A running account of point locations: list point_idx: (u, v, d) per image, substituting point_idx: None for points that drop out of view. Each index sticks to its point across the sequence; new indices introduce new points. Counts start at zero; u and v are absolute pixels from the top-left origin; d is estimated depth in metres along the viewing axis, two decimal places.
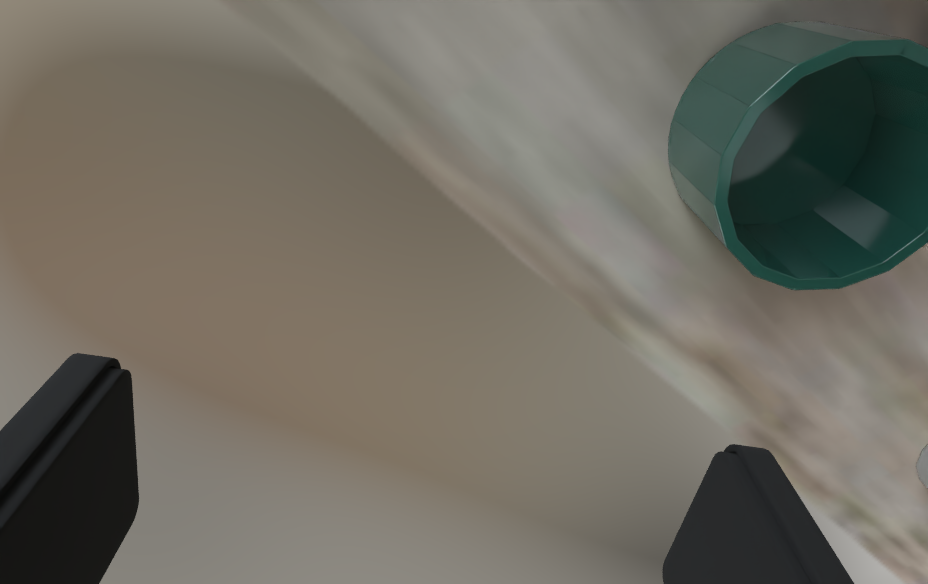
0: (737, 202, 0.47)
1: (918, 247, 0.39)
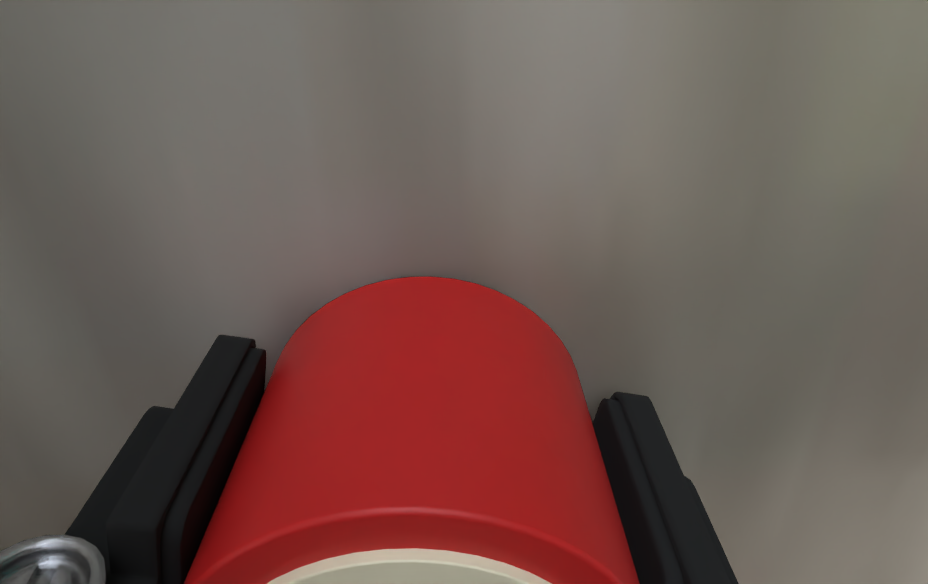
0: None
1: None
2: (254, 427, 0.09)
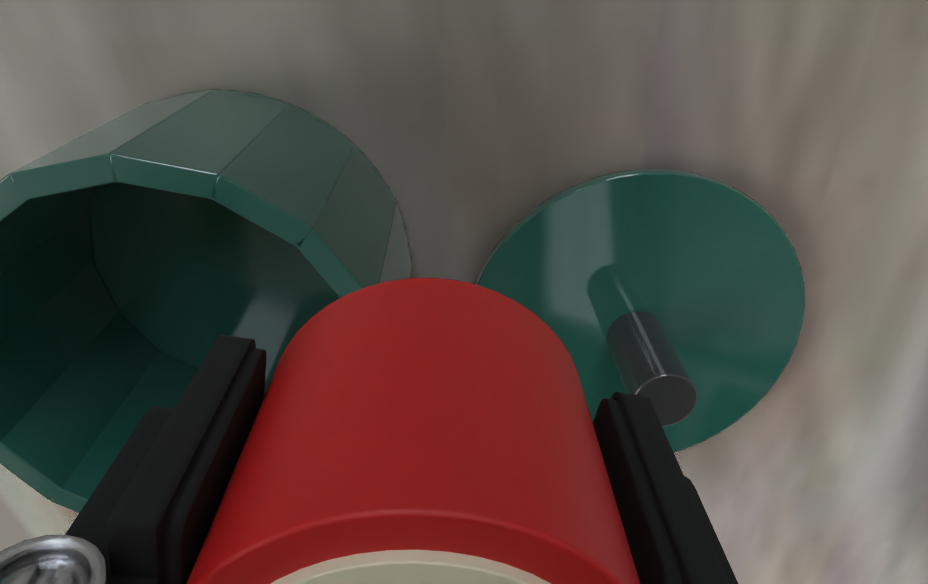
0: (162, 318, 0.30)
1: None
2: (256, 428, 0.09)
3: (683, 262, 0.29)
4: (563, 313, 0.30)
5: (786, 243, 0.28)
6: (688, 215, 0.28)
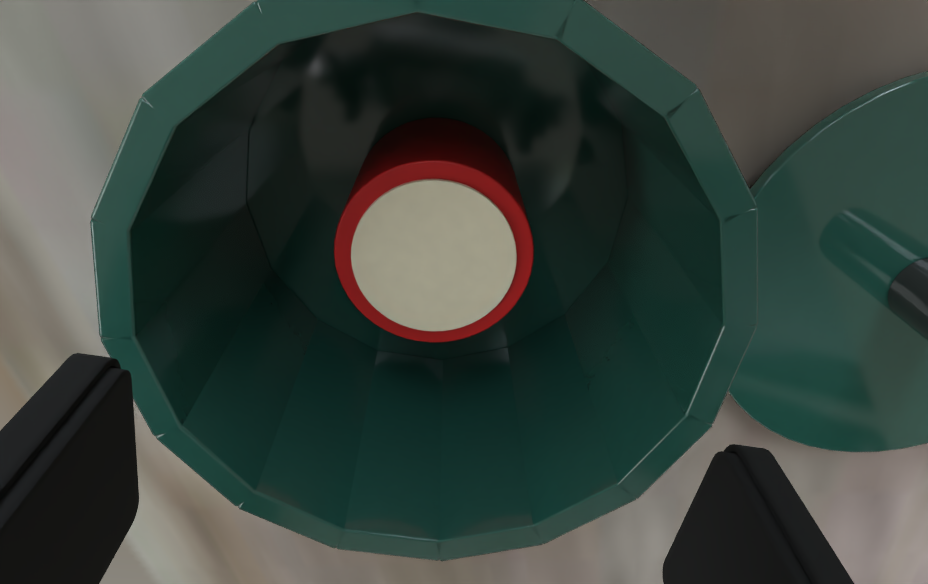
0: (325, 277, 0.24)
1: (513, 547, 0.18)
2: (361, 172, 0.20)
3: None
4: (839, 260, 0.23)
5: None
6: None
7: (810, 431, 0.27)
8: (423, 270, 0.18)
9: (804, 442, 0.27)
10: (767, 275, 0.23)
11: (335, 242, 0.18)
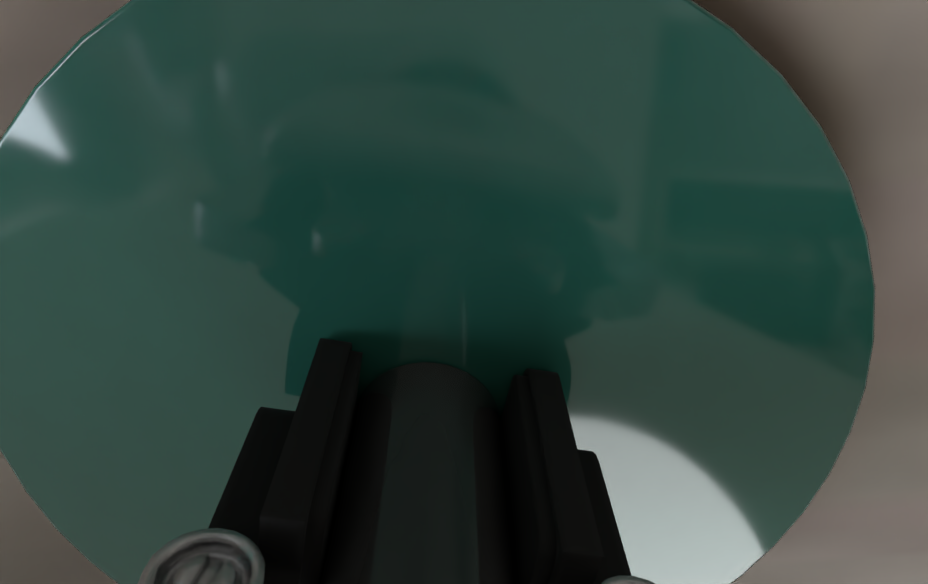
0: None
1: None
2: None
3: (199, 343, 0.11)
4: None
5: (67, 72, 0.09)
6: (67, 354, 0.11)
7: (764, 516, 0.13)
8: None
9: (791, 520, 0.13)
10: None
11: None
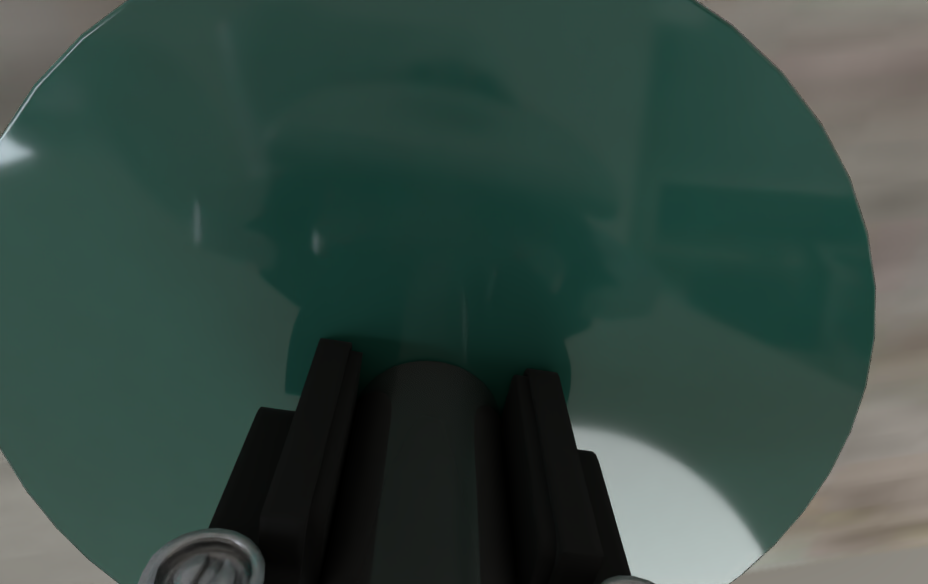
0: None
1: None
2: None
3: (199, 341, 0.11)
4: None
5: (67, 70, 0.09)
6: (66, 351, 0.11)
7: (764, 515, 0.13)
8: None
9: (792, 519, 0.13)
10: None
11: None
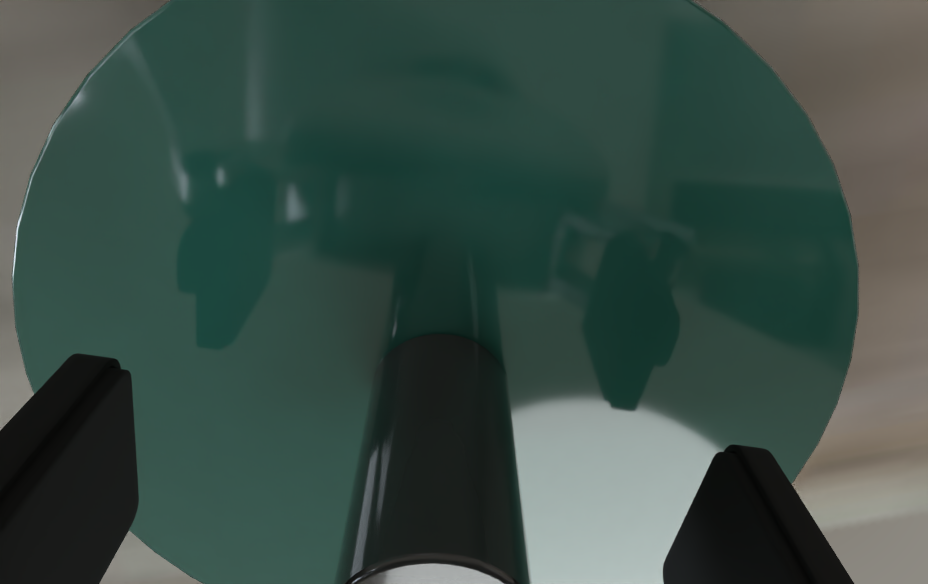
0: None
1: None
2: None
3: (230, 314, 0.12)
4: None
5: (116, 62, 0.10)
6: (107, 324, 0.12)
7: None
8: None
9: None
10: None
11: None
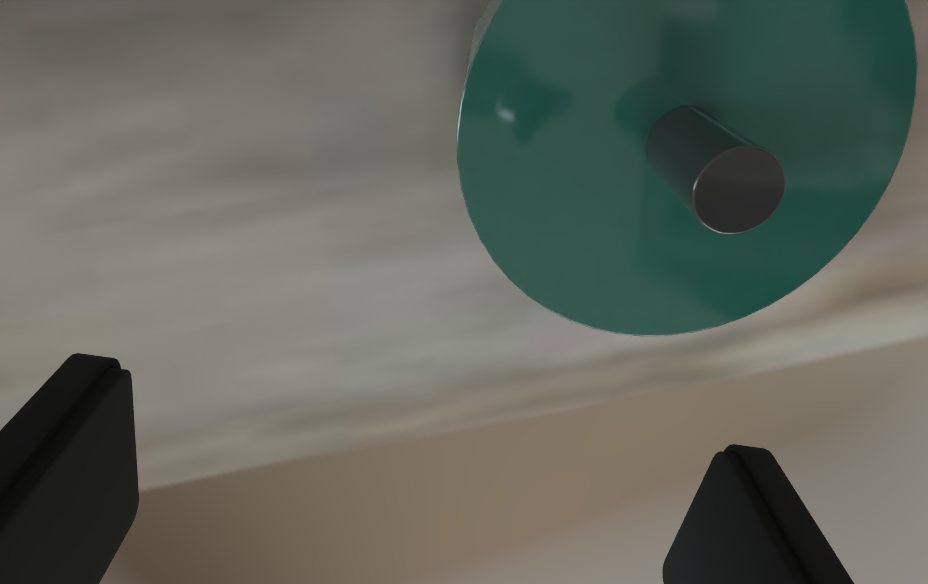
0: None
1: None
2: None
3: (578, 95, 0.22)
4: (637, 235, 0.24)
5: None
6: (511, 100, 0.22)
7: (852, 211, 0.24)
8: None
9: (867, 214, 0.24)
10: (644, 294, 0.25)
11: None
